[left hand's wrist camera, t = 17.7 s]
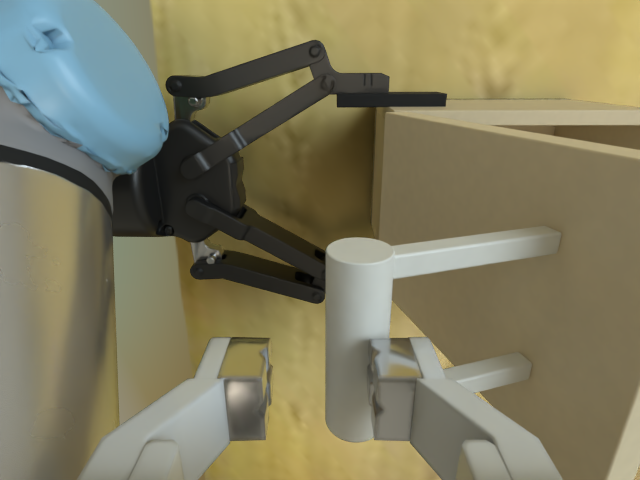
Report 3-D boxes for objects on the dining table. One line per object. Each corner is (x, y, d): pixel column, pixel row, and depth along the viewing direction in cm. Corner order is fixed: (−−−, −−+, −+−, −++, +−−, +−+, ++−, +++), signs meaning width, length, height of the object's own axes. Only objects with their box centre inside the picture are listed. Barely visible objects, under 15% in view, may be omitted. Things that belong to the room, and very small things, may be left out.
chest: (565, 98, 32) (667, 109, 22) (540, 223, 35) (617, 280, 26) (375, 99, 32) (393, 110, 23) (370, 222, 36) (383, 277, 26)
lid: (756, 168, 9) (398, 205, 6) (626, 502, 12) (371, 602, 10) (406, 111, 22) (249, 116, 20) (394, 280, 26) (261, 302, 24)
